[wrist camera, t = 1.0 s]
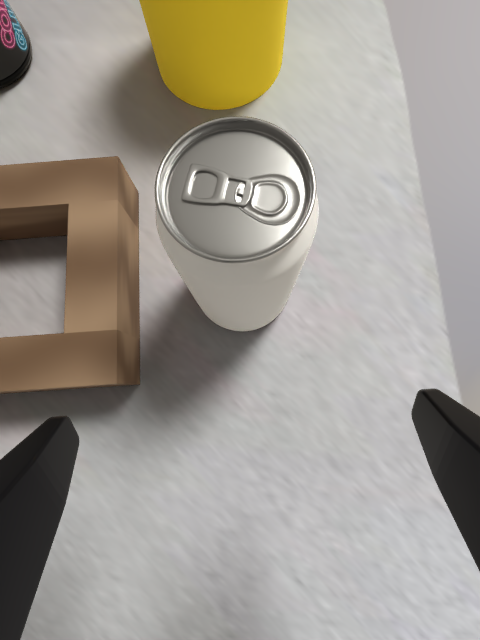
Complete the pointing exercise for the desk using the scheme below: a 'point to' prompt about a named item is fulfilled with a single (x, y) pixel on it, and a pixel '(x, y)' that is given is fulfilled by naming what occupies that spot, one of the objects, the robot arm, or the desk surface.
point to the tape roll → (217, 48)
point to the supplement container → (12, 46)
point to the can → (237, 217)
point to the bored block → (78, 273)
